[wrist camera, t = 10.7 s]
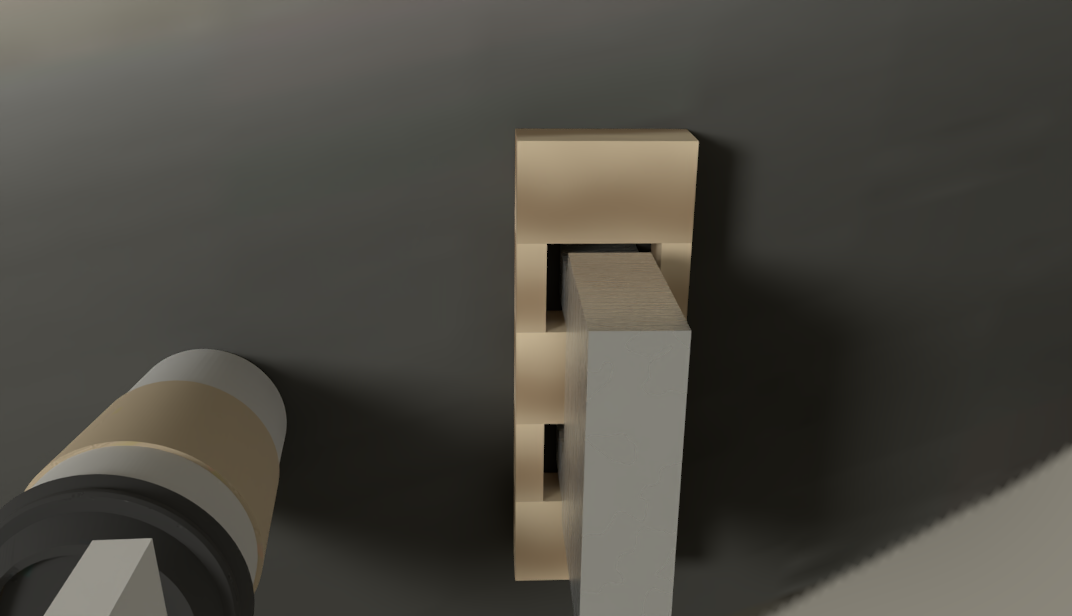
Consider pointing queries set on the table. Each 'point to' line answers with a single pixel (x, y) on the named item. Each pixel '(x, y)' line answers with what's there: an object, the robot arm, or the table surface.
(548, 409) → the wooden ladder frame
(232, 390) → the coffee cup
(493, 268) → the table surface
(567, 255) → the grey flat block
